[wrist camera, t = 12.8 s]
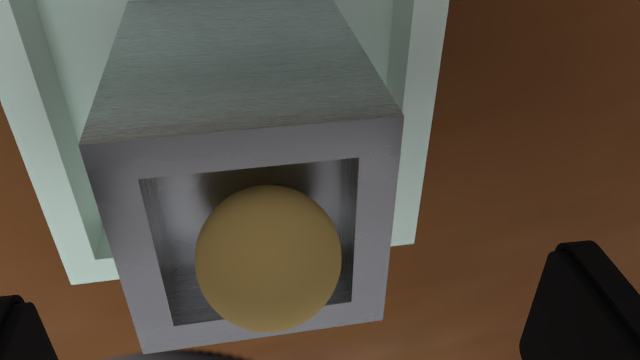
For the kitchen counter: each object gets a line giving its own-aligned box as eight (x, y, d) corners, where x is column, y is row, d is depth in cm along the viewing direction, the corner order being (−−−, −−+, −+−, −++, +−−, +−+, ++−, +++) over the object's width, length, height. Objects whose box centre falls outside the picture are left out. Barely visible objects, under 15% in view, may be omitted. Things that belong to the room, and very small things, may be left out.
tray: (433, -142, 15) (468, -131, 13) (395, 203, 22) (414, 243, 20) (-43, -136, 13) (-86, -122, 11) (83, 237, 20) (71, 284, 18)
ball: (314, 142, 11) (370, 249, 9) (312, 232, 14) (358, 335, 12) (172, 172, 11) (200, 296, 9) (193, 262, 13) (220, 378, 11)
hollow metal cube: (327, -10, 16) (404, 116, 10) (325, 152, 19) (382, 319, 13) (127, 1, 15) (78, 144, 9) (162, 167, 18) (143, 354, 12)
